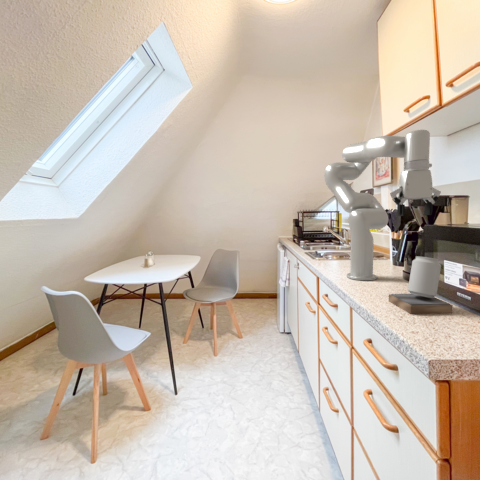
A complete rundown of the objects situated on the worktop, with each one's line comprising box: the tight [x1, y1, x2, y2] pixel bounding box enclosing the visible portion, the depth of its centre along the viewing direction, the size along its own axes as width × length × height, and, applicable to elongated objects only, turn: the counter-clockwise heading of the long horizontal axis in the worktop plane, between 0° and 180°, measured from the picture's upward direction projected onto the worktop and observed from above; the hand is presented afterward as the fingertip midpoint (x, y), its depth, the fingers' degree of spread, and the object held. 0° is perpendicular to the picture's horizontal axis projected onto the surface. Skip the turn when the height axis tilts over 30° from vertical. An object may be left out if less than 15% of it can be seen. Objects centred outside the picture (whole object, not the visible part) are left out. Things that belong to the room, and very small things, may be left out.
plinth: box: [388, 293, 453, 315], centre depth 86 cm, size 12×12×3 cm
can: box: [407, 255, 442, 298], centre depth 86 cm, size 8×8×12 cm
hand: (414, 215), depth 99 cm, fingers open, 9 cm apart
